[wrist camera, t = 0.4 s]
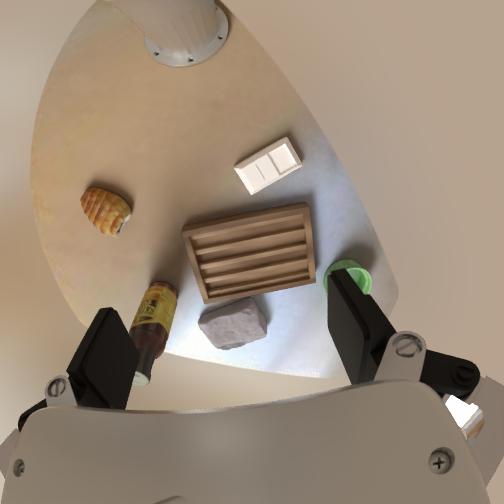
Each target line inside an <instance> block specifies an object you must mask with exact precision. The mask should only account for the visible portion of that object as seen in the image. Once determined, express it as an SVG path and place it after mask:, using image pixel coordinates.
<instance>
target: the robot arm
mask: <svg viewBox="0 0 504 504" xmlns="http://www.w3.org/2000/svg"><path fill="white" fill-rule="evenodd" d="M105 1H107V2H108V3H110V4H111V5H113V6H114V7H116V8H117V9H118V10H119V11H120V12H121V13H123V14H124V15H125V16H126V17H127V18H128V19H129V20H130V21H131V22H132V23H133V24H134V25H135V26H136V27H137V28H138V29H139V30H141V31H142V32H143V33H144V34H145V35H144V42H145V46H146V49H147V50H148V52H149V54H150V55H151V56H152V57H153V58H154V59H156V60H157V61H158V62H160V63H162V64H164V65H168V66H172V67H188V66H193V65H196V64H199V63H202V62H204V61H205V60H207V59H209V58H211V57H212V56H213V55H215V54H216V53H217V52H218V51H219V50H220V49H221V47H222V46H223V44H224V43H225V41H226V38H227V35H228V21H227V17H226V15H225V13H224V12H223V11H222V10H221V8H220V7H218V6H217V5H216V4H215V0H105ZM219 38H222V39H221V40H219ZM158 53H159V55H157V54H158ZM156 55H157V56H156ZM190 60H193V62H190ZM327 291H328V329H329V332H330V334H331V337H332V339H333V341H334V344H335V346H336V348H337V351H338V353H339V355H340V358H341V360H342V362H343V365H344V367H345V370H346V372H347V374H348V377H349V379H350V381H351V384H352V385H350V386H345V387H341V388H336V389H332V390H328V391H323V392H320V393H314V394H310V395H305V396H299V397H295V398H289V399H284V400H278V401H272V402H266V403H259V404H251V405H243V406H235V407H226V408H214V409H200V410H199V409H198V410H176V411H175V410H174V411H145V410H144V411H143V410H125V408H126V404H127V401H128V397H129V393H130V390H131V386H132V383H133V379H134V376H135V372H136V369H137V366H138V362H139V359H140V354H139V351H138V349H137V348H136V346H135V344H134V342H133V340H132V339H131V337H130V335H129V333H128V331H127V329H126V328H125V326H124V324H123V322H122V320H121V318H120V316H119V314H118V312H117V311H116V310H114V309H113V308H112V307H108V308H101V309H100V310H99V311H98V313H97V314H96V316H95V318H94V320H93V321H92V323H91V325H90V327H89V328H88V330H87V332H86V334H85V336H84V338H83V339H82V341H81V343H80V345H79V347H78V349H77V351H76V352H75V354H74V356H73V358H72V360H71V362H70V364H69V366H68V368H67V370H66V371H67V373H68V374H69V377H68V378H67V377H66V376H63V375H59V376H56V377H54V378H53V379H52V380H50V382H48V384H47V386H46V388H45V397H46V398H45V399H44V400H42V401H41V402H39V403H38V404H36V405H34V406H33V407H31V408H30V409H28V410H27V411H25V412H24V413H23V414H22V415H21V416H20V418H19V421H18V429H19V430H17V429H15V430H14V431H13V432H12V433H11V434H10V435H9V436H8V437H7V439H6V440H5V441H4V442H3V443H2V444H1V445H0V470H1V472H2V474H3V476H4V478H5V484H4V488H3V494H2V500H1V504H490V501H489V497H488V494H487V491H486V486H487V485H488V483H489V481H490V480H491V478H492V476H493V474H494V473H495V471H496V469H497V467H498V466H499V464H500V462H501V460H502V458H503V456H504V386H503V385H501V384H500V383H498V382H496V381H495V380H493V379H491V378H489V377H488V376H486V377H485V378H482V377H481V376H480V372H479V369H478V367H477V366H476V365H475V364H474V363H473V362H471V361H468V360H465V359H461V358H457V357H454V356H450V355H445V354H442V353H438V352H434V351H431V350H427V349H426V343H425V340H424V339H423V338H422V337H421V336H420V335H418V334H417V333H414V332H411V331H401V332H398V333H397V332H396V330H395V329H394V328H393V326H392V325H391V323H390V322H389V320H388V319H387V317H386V316H385V315H384V313H383V312H382V310H381V309H380V308H379V306H378V305H377V303H376V302H375V301H374V299H373V298H372V297H371V296H370V295H369V294H365V295H364V293H363V292H362V290H361V289H360V288H359V286H358V285H357V284H356V282H355V281H354V279H353V278H352V277H351V275H350V274H349V273H348V271H347V270H346V269H345V268H342V269H337V270H332V271H331V274H330V275H328V276H327ZM456 420H457V421H456ZM459 425H460V426H461V427H462V428H463V429H464V430H465V431H466V434H467V440H466V439H465V436H464V434H463V433H462V431H461V429H460V427H459Z"/></svg>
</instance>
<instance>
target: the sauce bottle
mask: <svg viewBox="0 0 504 504" xmlns="http://www.w3.org/2000/svg"><path fill="white" fill-rule="evenodd" d="M177 299H178V294H177V292H176V290H175V289H174V288H173V287H172V286H171V285H170V284H168V283H165V282H156V283H153V284H152V285H151V286H150V287H149V288H148V290H147V291H146V292H145V295H144V297H143V299H142V301H141V304H140V306H139V308H138V311H137V313H136V315H135V318H134V320H133V323H132V325H131V327H130V330H129V335H130V337H131V339H132V340H133V342H134V344H135V346H136V348H137V349H138V351H139V354H140V359H139V362H138V366H137V369H136V372H135V376H134V379H133V383H132V385H136V386H140V387H142V386H146V385H148V384H149V382H150V378H151V369H152V365H153V363H154V360H155V359H157V358H158V357H159V356H160V355H161V354H162V353H163V351H164V349H165V346H166V342H167V340H168V337H169V333H170V329H171V325H172V321H173V318H174V314H175V310H176V306H177Z"/></svg>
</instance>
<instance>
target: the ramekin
mask: <svg viewBox="0 0 504 504" xmlns="http://www.w3.org/2000/svg"><path fill="white" fill-rule="evenodd" d="M342 268H345V269H346V270H347V271H348V273H349V274H350V275H351V277H352V278H353V279H354V281H355V282H356V284H357V285H358V286H359V288H360V289H361V290H362V292H363V293H364V295H365V294H369V293H370V290H371V287H372V277H371V275H370V273H369V272H368V271H367V270H366V269H364V268H362V267H361V266H360V265H359V264H358V263H357V262H356V261H354V260H350V259H344V260H340V261H338V262H336V263H334V264H333V265H332V266H330V267H329V269H328V270H327V271H326V273H325V276H324V281H323V283H324V287H325V290H326V293H327V298H328V291H327V276H328V275H330V274H331V271H332V270H337V269H342Z"/></svg>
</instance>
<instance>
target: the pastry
mask: <svg viewBox="0 0 504 504" xmlns="http://www.w3.org/2000/svg"><path fill="white" fill-rule="evenodd" d="M81 205H82V207H83V209H84V213H85V214H86V215H87V216H88V217H89V221H91V222H93V224H94V226H95V227H96V228H100V230H101V232H102V233H103V234H108V235H110V236H113V237H116V236H118V234H119V232H120V230H122V229H123V227H124V225H125V222H126V221H127V220H128V219H129V218H130V216H131V210H130V208H129V206H128V205H127V203H126V202H125V200H123V199H122V198H121V197H120V196H117V195H115V194H113V193H111V192H109V191H106V190H103V189H100V188H89V189H87V190H86V191H85V193H84V194H83V196H82V197H81Z"/></svg>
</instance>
